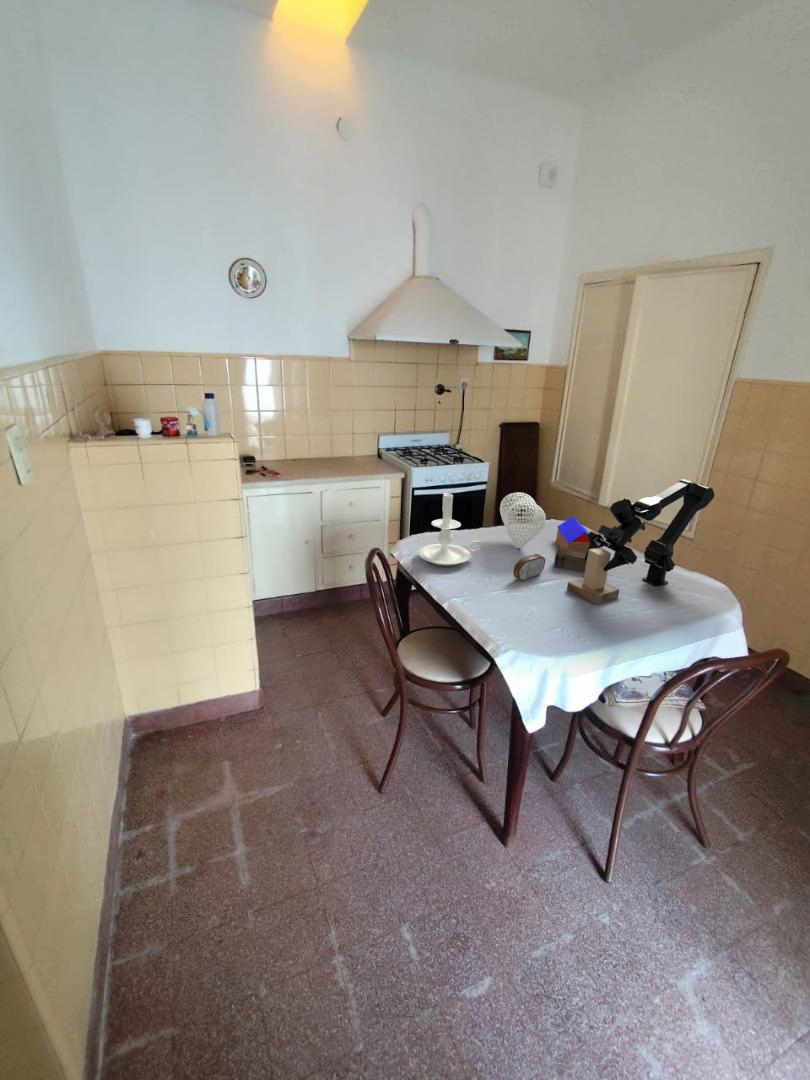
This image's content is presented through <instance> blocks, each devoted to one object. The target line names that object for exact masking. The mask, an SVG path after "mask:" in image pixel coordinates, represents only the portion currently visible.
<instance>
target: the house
mask: <svg viewBox="0 0 810 1080" xmlns="http://www.w3.org/2000/svg"><path fill="white" fill-rule="evenodd" d="M589 533H590V531H588V530H587V528H585V527H584V525H582V523H580V522H579V521H578V520H577V519H576V518H575V517H574V516H571V517H570V518H568V519H567V520H565V521H564V522H562V523H560V524H559V525H558V526H557V532H556V539H555V541H556V543H557V542H558V543H557V545H558V546H559V548H560V547H561V548H567V549H573V550H579V551H585V552H587V551H588V548H589V545H590V542H589V540H588V537H587V535H588V534H589Z"/></svg>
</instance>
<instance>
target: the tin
mask: <svg viewBox="0 0 810 1080" xmlns="http://www.w3.org/2000/svg"><path fill="white" fill-rule="evenodd" d="M545 565H546V558H545V557H544V556H543V555H541V554H539V553H535V554H532V555H528V556H524V557H522V558H520V559H519V560H517V562H516V564H515V565H514V568H513V570H512V571H513V572H512V573H513V576H514V578H515V579H518V580H520V581H526V580H529V579H532V578H534V577H537V576H539V575H540V574H541V573H542V572H543V571H544V568H545Z"/></svg>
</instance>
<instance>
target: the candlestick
mask: <svg viewBox="0 0 810 1080" xmlns="http://www.w3.org/2000/svg"><path fill="white" fill-rule="evenodd" d="M453 500H454V495H453V494H452V493H450V492H443V494H442V510H441V511H442V518H438V519H435V520H432V521H431V523H430V524H431V525H432V526H433V527H435V528H439V529H441V530H440V532H439V533H438V536H437V540H438V543H432V544H428V545H425V546H422V547H421V548H419V550H418V552H417V553H418V556H419V558H421V559H423V560H424V561H427V562H429V563H431V564H434V565H437V566H447V567H448V566H449V567H450V566H455V565H459V564H461V563H462V564H463V563H466V562H467V561H468V560H469V559H470V558H471V557H475V555H476V553H477V552H478V551H479V550H480V548H481V545H480V543H482V542H483V541H482V540H473V541H470V542H469V543H468V549H466V548H464V547H463V546H460V545H456V544H451V543H452V542H453V539H454V536H453V534H452V531H451V530H452V529H457V528H460V527H461V526H462V524H461V522H459V521H457V520H455V519H453V518H452V517H453V514H452V513H453V502H454V501H453ZM473 544H476V545H477V548H475V549H472V548H471V546H472V545H473ZM471 553H472V554H471Z"/></svg>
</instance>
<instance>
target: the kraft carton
mask: <svg viewBox="0 0 810 1080" xmlns="http://www.w3.org/2000/svg"><path fill="white" fill-rule="evenodd" d="M611 555H612V553H611V552H610V551H608V550H605V549H604V548H603V547H601V548H595V549H589V552H588V557H587V563H586V569H585V572H584V574H583V575H584V576H583V578H584V580H583V584H584V585H586V586H587V587H589V588H590V589H592V590H595V589H601V588H604V587H605V582H606V581H607V577H608V572H609V570H608V571H604V570H603V569H604V567H605V566H606V565H607V564H608V563H609V561H610V560H611ZM606 583H607V582H606Z"/></svg>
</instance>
